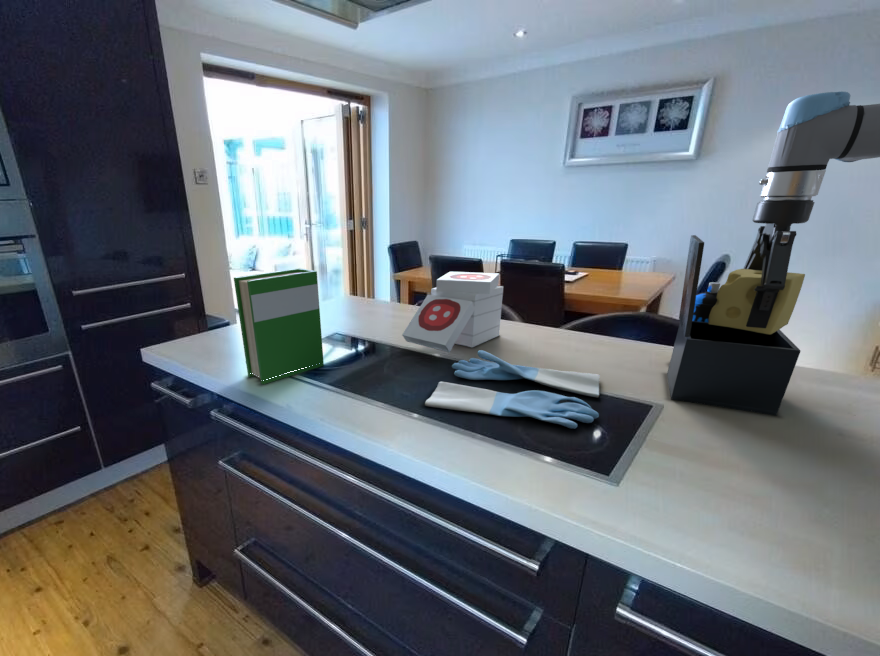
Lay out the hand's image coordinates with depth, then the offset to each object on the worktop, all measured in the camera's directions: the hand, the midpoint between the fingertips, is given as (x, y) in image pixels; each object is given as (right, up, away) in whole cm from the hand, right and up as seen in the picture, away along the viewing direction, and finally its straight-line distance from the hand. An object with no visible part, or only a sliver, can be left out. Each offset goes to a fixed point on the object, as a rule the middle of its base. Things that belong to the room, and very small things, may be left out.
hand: (748, 318), depth 85 cm
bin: (-1, -14, +7) cm, 16 cm away
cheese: (0, -1, 0) cm, 2 cm away
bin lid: (-9, +7, +2) cm, 12 cm away
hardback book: (-94, -9, +26) cm, 98 cm away
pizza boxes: (-48, 0, +45) cm, 66 cm away
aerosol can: (+4, -9, +20) cm, 23 cm away
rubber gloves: (-42, -15, +10) cm, 45 cm away
